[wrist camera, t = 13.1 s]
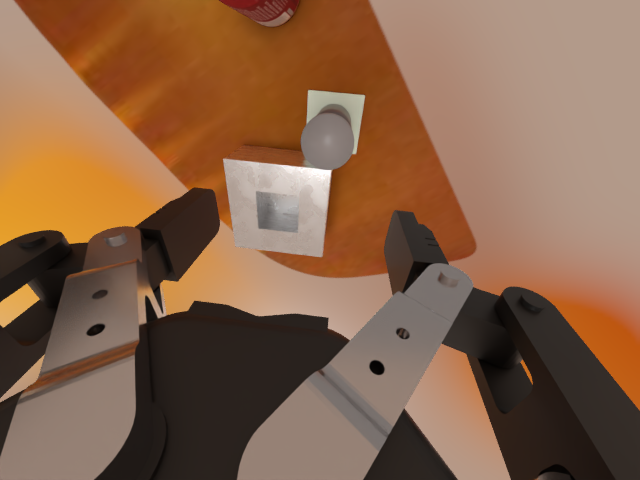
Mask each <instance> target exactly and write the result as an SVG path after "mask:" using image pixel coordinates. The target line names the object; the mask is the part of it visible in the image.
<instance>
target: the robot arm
mask: <svg viewBox="0 0 640 480" xmlns="http://www.w3.org/2000/svg"><path fill="white" fill-rule="evenodd" d="M219 226H220V220H219V214H218V208H217V202H216V197H215V193H214V191H213V190H211V189H203V188H192V189H191V190H190V191H188V192H187V193H186V194H184V195H183V196H182V197H180V198H178V199H175V200H173V201H170V202H169V203H167V204H166V205H165V206H163V207H162V208H160V209H159V210H158V211H156V213H154V214H152V215H151V216H149V217H148V218H147V219H145V220H144V221H142V222H141V223H140V224H138V225H137V226H135V227H128V226H127V227H126V226H125V227H116V228H111V229H107V230H105V231H102V232H100V233H98V234H96V235H95V236H93V237H92V238H91V239H90V240H89V242H88V243H75V244H69V243H68V242H67V240H66V238H65V237H64V235H63V234H62V233H61V232H59V231H53V230H46V231H39V232H33V233H29V234H25V235H22V236H20V237H17V238H15V239H13V240H11V241H9V242H7V243H5V244H3V245H1V246H0V302H1V301H2V300H3V299H5V298H7V297H8V296H9V295H11V294H12V293H14V292H15V291H17V290H18V289H20V288H21V287H22V286H23V285H25V284H28V285H29V286H30V287H31V289H32V290H33V291H34V292H35V294H36V295H37V296H38V297H39V298H40V300H39V301H37V302H36V303H35V304H33V305H32V306H31V307H30V308H28V309H27V310H26V311H25V312H23V313H22V314H21V315H20V316H18V317H17V318H16V319H14V320H13V321H12V322H11V323H9V324H8V325H7V326H6V327H4V328H3V327H2V326H1V325H0V398H1V397H2V396H3V395H4V394H5V393H6V392H7V391H8V390H9V389H10V388H11V387H12V386H13V385H14V384H15V383H16V382H17V381H18V380H19V379H20V378H21V377H22V376H23V375H24V374H25V373H26V372H27V371H28V370H29V369H30V368H31V367H32V366H33V365H34V364H35V363H36V362H37V361H38V360H39V359H40V358H41V357H42V356H43V355H44V354H45V356H44V360H43V363H42V367H41V371H40V374H39V377H38V379H37V380H36V382H35V383H33V384H32V385H30V386H28V387H27V388H26V389H25V390H23V391H21V392H19V393H17V394H15V395H13V396H11V397H10V398H8V399H6V400H4V401H2V402H0V480H458V479H457V478H456V477H455V475H454V474H453V473H452V471H451V470H450V469H449V467H448V466H447V465H446V464H445V462H444V461H443V459H442V458H441V457H440V455H439V454H438V453H437V451H436V450H435V449H434V447H433V446H432V445H431V443H430V442H429V441H428V439H427V438H426V437H425V435H424V434H423V433H422V431H421V430H420V429H419V427H418V426H417V425H416V423H415V422H414V421H413V419H412V418H411V417H410V415H409V414H408V413H407V411H406V410H405V409H404V407H405V406H406V404H407V402H408V400H409V399H410V397H411V395H412V394H413V392H414V390H415V388H416V386H417V385H418V383H419V381H420V379H421V378H422V376H423V374H424V373H425V371H426V369H427V367H428V366H429V364H430V362H431V361H432V359H433V357H434V355H435V354H436V352H437V350H438V348H439V347H440V345H441V343H442V344H444V345H447V346H449V347H451V348H454V349H456V350H459V351H461V352H464V353H466V354H467V357H468V360H469V363H470V366H471V368H472V371H473V374H474V377H475V380H476V382H477V385H478V388H479V391H480V394H481V396H482V399H483V402H484V405H485V408H486V411H487V413H488V416H489V419H490V422H491V424H492V427H493V430H494V433H495V436H496V439H497V441H498V444H499V447H500V450H501V453H502V456H503V458H504V461H505V464H506V467H507V470H508V472H509V475H510V478H511V480H640V411H639V410H638V408H637V407H636V406H635V405H634V403H633V402H632V401H631V400H630V399H629V397H628V396H627V395H626V393H625V392H624V391H623V390H622V388H621V387H620V386H619V385H618V384H617V382H616V381H615V380H614V379H613V377H612V376H611V375H610V374H609V372H608V371H607V370H606V369H605V368H604V366H603V365H602V364H601V363H600V362H599V360H598V359H597V358H596V357H595V355H594V354H593V353H592V351H591V350H590V349H589V348H588V347H587V345H586V344H585V343H584V342H583V340H582V339H581V338H580V337H579V336H578V334H577V333H576V332H575V331H574V329H573V328H572V327H571V326H570V325H569V323H568V322H567V321H566V319H565V318H564V317H563V316H562V314H561V313H560V312H559V311H558V310H557V308H556V307H555V306H554V305H553V304H552V303H551V302H549V301H548V300H547V299H545V298H544V297H542V296H541V295H539V294H537V293H535V292H533V291H530V290H528V289H525V288H520V287H508V288H506V289H505V290H504V291H503V292H502V294H501V295H500V296H498V295H495V294H491V293H488V292H485V291H482V290H479V289H476V288H474V287H473V283H472V280H471V279H470V278H469V276H468V275H467V274H465V273H464V272H463V271H461V270H460V269H458V268H456V267H453V266H451V265H449V263H448V262H447V260H446V258H445V256H444V254H443V252H442V250H441V248H440V247H439V244H438V242H437V241H436V239H435V237H434V235H433V233H432V231H431V230H429V229H428V228H427V227H426V226H425V225H423V224H418V222H417V220H416V218H415V216H414V213H413V212H407V211H398V210H395V211H394V212H393V215H392V218H391V222H390V225H389V229H388V233H387V236H386V240H385V246H384V254H385V259H386V264H387V269H388V274H389V279H390V284H391V288H392V294H393V296H392V297H391V298H390V299H389V300H388V302H387V303H386V304H385V305H384V306H383V307H382V308H381V309H380V310H379V311H378V312H377V313H376V314H375V315H374V316H373V317H372V318H371V319H370V320H369V321H368V322H367V324H366V325H365V326H364V327H363V328H362V329H361V330H360V331H359V332H358V333H357V334H356V335H355V336H354V337H353V338H352V339H351V340H348V339H347V338H346V337H344V336H342V335H341V334H339V333H337V332H335V331H333V330H330V329H328V318H326V317H317V316H310V315H302V314H284V315H273V316H255V315H252V314H250V313H247V312H244V311H242V310H239V309H237V308H234V307H231V306H229V305H223V304H216V303H209V302H208V303H207V302H201V301H194V302H193V304H192V305H191V307H190V309H189V310H188V311H185V312H179V313H174V314H171V315H166V308H165V301H164V295H163V289H162V286H161V284H160V283H161V282H162V281H163V280H169V281H179V279H180V278H181V277H182V276H183V274H184V273H185V272H186V271H187V270H188V268H189V267H190V266H191V265H192V264H193V262H194V261H195V260H196V259H197V257H198V256H199V255H200V254H201V253H202V251H203V250H204V249H205V248H206V246H207V245H208V244H209V243H210V241H211V240H212V239H213V238H214V237H215V235H216V234H217V233H218V231H219ZM521 360H524V362H525V364H526V366H527V368H528V370H529V371H530V374H531V376H532V381H533V385H532V383H531V382H530V379H529V378H528V376H527V374H526V372H525V370H524V368H523V366H522V364H521V363H520V362H521Z"/></svg>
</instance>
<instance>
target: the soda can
mask: <svg viewBox="0 0 640 480" xmlns="http://www.w3.org/2000/svg"><path fill="white" fill-rule="evenodd" d="M219 1H221V2H222V3H224V4H225V5H227V6H229V7H231V8H233V9H234V10H236V11H238V12H240V13H242V14H243V15H245V16H247V17H249V18H251V19H252V20H254V21H256V22H258V23H260V24H262V25H264V26H268V27H276V26H280V25H282V24H284V23H285V22H287V21H288V20H289V19H290V18H291V17H292V15H293V14H294V12H295V10H296V9H297V6H298V3H299V0H219Z"/></svg>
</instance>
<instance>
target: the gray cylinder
mask: <svg viewBox="0 0 640 480" xmlns="http://www.w3.org/2000/svg"><path fill="white" fill-rule="evenodd" d="M301 148H302V152H303V154H304V156H305V158H306V159H307V160H308V162H309V163H310V164H312V165H313V166H315V167H317V168H319V169H322V170H333V169H336V168H339V167H341V166H342V165H344V164H345V163H346V162H347V161H348V160H349V158H350V157H351V155H352V152H353V149H354V134H353V131H352V127H351V117H350V114H349V112H348V111H347V110H346V109H345V108H344V107H343V106H341V105H339V104H329V105H327V106H325V107H323V108H322V109H321V110H320V112H319V113H318V114H317V115H316V116H315V117H314V118H312V119H311V120H310V121H309V122H308V123H307V125H306V126H305V128H304V130H303V132H302V136H301Z"/></svg>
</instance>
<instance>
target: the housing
mask: <svg viewBox="0 0 640 480" xmlns="http://www.w3.org/2000/svg"><path fill="white" fill-rule="evenodd" d="M223 162H224V169H225V176H226V183H227V190H228V197H229V204H230V211H231V218H232V225H233V232H234V239H235V246H236V247H243V248H251V249H259V250H267V251H275V252H284V253H292V254H300V255H308V256H316V257H322V255H323V248H324V241H325V235H326V226H327V217H328V208H329V198H330V189H331V179H332V170H322V169H319V168H317V167H315V166H313V165H312V164H310V163H309V162H308V160H307V159H306V158H305V156H304V154H303V152H302V151H298V150H288V149H279V148H269V147H260V146H250V145H243V146H241V147H240V148H238V149H237V150H235V151H234V152H232V153H231V154H229V155H228V156H226V157H225V158H223Z"/></svg>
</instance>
